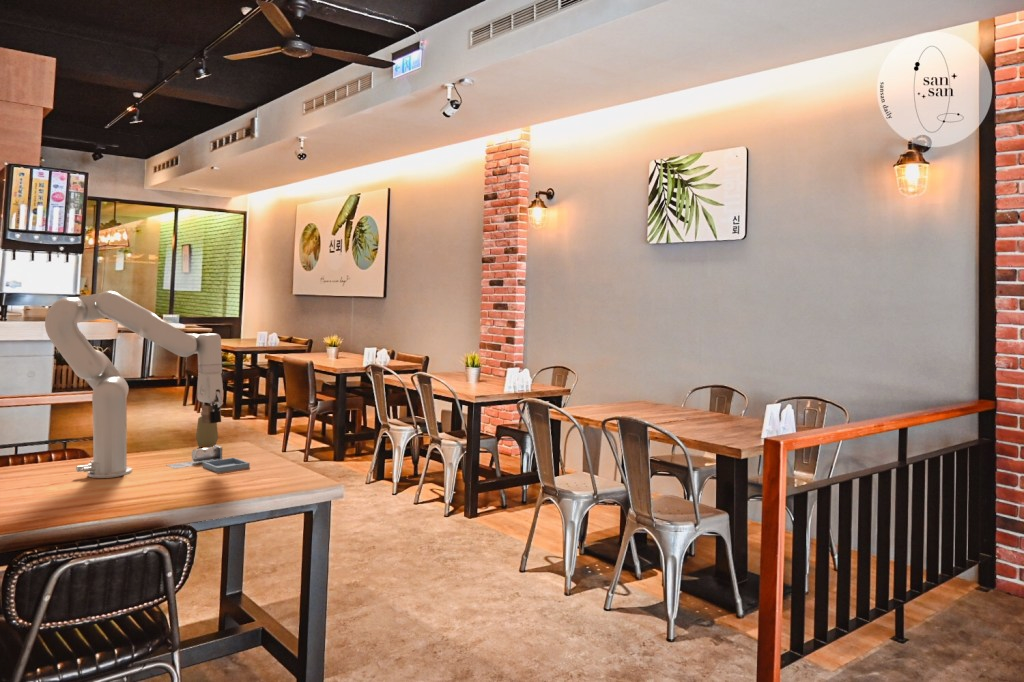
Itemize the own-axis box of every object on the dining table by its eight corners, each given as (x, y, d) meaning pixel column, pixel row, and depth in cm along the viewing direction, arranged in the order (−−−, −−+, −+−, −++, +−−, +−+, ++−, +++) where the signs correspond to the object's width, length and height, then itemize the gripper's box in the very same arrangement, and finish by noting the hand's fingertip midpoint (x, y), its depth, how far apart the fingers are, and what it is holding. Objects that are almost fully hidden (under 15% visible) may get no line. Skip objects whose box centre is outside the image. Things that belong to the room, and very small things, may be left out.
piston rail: (174, 469, 236) (174, 468, 236) (166, 466, 240) (166, 465, 240) (227, 462, 249) (227, 460, 249) (218, 458, 254) (218, 457, 254)
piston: (197, 463, 242) (197, 450, 242) (191, 460, 246) (191, 448, 246) (222, 459, 249) (222, 447, 249) (215, 457, 252) (215, 444, 252)
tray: (217, 474, 231) (217, 467, 231) (202, 468, 239) (202, 462, 239) (249, 469, 240) (249, 462, 240) (234, 463, 247) (234, 457, 247)
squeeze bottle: (195, 445, 276) (196, 401, 275) (217, 444, 279) (218, 400, 278) (195, 449, 268) (196, 403, 267) (218, 448, 272) (218, 403, 271)
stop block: (208, 423, 237) (208, 406, 236) (202, 422, 240) (201, 405, 239) (221, 422, 240) (220, 404, 240) (214, 420, 243) (214, 403, 243)
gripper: (188, 368, 241) (189, 420, 242) (211, 371, 230) (213, 426, 232) (209, 367, 247) (210, 417, 248) (232, 370, 236) (234, 423, 237)
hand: (211, 421), depth 240 cm, fingers closed on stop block, 4 cm apart
